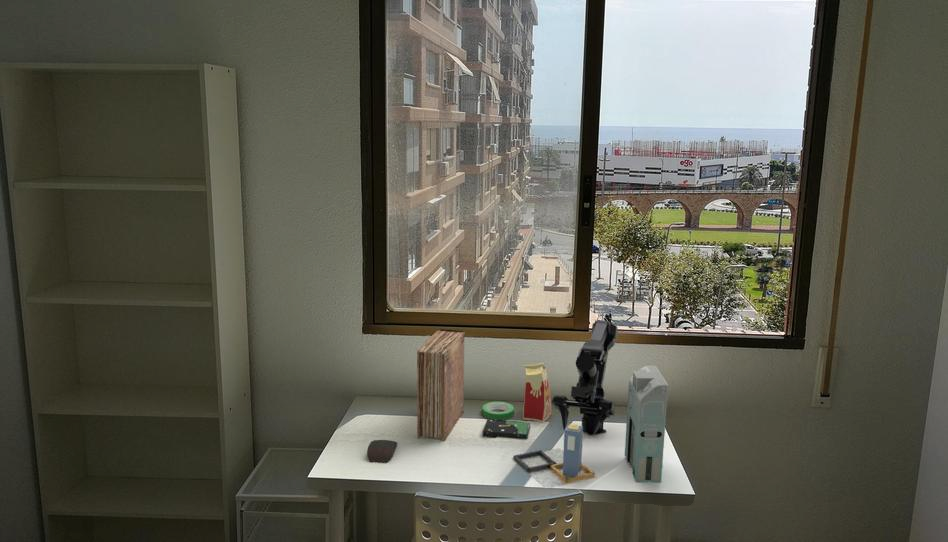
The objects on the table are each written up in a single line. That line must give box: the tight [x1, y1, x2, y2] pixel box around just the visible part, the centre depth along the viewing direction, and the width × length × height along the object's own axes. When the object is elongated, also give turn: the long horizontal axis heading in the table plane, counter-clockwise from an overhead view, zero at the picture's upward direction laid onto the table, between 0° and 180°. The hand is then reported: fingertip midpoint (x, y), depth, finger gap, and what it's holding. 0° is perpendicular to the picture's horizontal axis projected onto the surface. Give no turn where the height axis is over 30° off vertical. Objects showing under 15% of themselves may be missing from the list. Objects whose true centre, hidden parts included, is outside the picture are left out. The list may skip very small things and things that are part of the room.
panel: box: [511, 448, 597, 489], centre depth 234 cm, size 17×21×2 cm
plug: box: [563, 423, 584, 476], centre depth 229 cm, size 6×4×14 cm
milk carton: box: [522, 362, 552, 423], centre depth 271 cm, size 9×9×20 cm
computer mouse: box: [366, 439, 398, 464], centre depth 243 cm, size 8×14×4 cm, turn 174°
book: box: [416, 328, 465, 442], centre depth 261 cm, size 25×9×30 cm, turn 166°
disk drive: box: [482, 418, 531, 440], centre depth 259 cm, size 10×3×15 cm
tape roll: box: [482, 401, 515, 420], centre depth 274 cm, size 11×11×3 cm
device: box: [624, 365, 669, 483], centre depth 231 cm, size 16×8×30 cm, turn 0°
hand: (578, 431), depth 236 cm, fingers open, 9 cm apart
